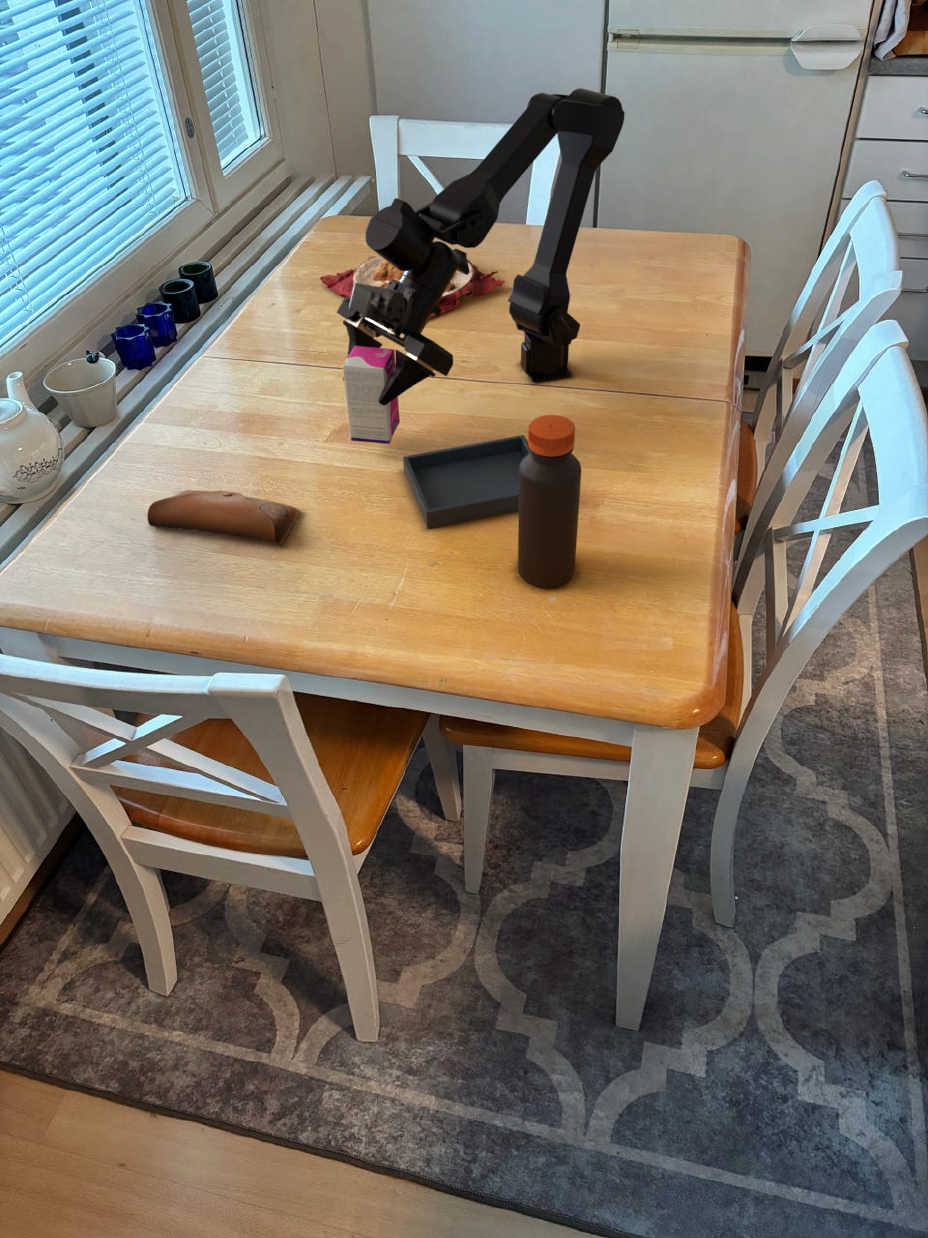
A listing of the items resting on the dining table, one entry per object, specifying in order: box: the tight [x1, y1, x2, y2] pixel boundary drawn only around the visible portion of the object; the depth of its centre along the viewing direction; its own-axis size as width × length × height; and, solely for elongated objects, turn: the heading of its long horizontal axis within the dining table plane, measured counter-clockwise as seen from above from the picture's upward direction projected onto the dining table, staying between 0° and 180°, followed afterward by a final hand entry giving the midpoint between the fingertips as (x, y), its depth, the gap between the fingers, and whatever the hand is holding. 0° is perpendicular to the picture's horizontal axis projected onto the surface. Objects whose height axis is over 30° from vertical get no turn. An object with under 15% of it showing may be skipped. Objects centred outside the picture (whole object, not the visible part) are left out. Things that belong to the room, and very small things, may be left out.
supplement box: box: [342, 346, 401, 445], centre depth 127 cm, size 6×6×12 cm
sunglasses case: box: [146, 489, 301, 545], centre depth 121 cm, size 18×7×7 cm
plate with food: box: [319, 255, 506, 318], centre depth 171 cm, size 24×26×3 cm
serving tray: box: [402, 434, 530, 530], centre depth 125 cm, size 17×13×3 cm
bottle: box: [517, 414, 582, 589], centre depth 106 cm, size 7×7×20 cm
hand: (363, 392), depth 126 cm, fingers closed on supplement box, 7 cm apart
